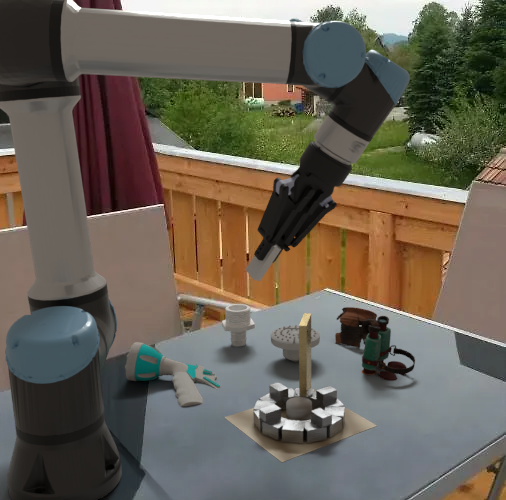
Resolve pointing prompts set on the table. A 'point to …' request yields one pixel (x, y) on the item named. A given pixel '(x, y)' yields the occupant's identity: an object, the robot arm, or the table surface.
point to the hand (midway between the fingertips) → (252, 275)
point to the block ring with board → (323, 400)
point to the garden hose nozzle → (168, 372)
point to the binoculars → (382, 352)
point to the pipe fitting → (238, 323)
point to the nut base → (295, 447)
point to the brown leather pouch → (355, 325)
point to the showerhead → (291, 341)
